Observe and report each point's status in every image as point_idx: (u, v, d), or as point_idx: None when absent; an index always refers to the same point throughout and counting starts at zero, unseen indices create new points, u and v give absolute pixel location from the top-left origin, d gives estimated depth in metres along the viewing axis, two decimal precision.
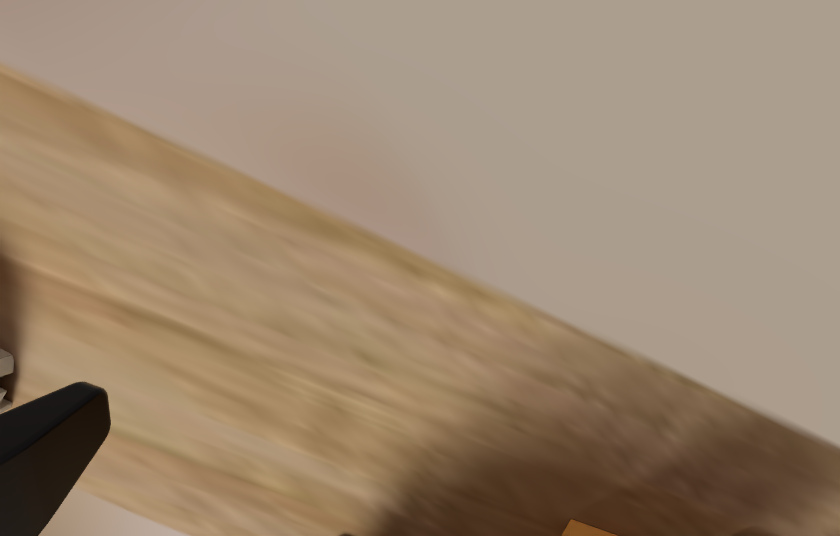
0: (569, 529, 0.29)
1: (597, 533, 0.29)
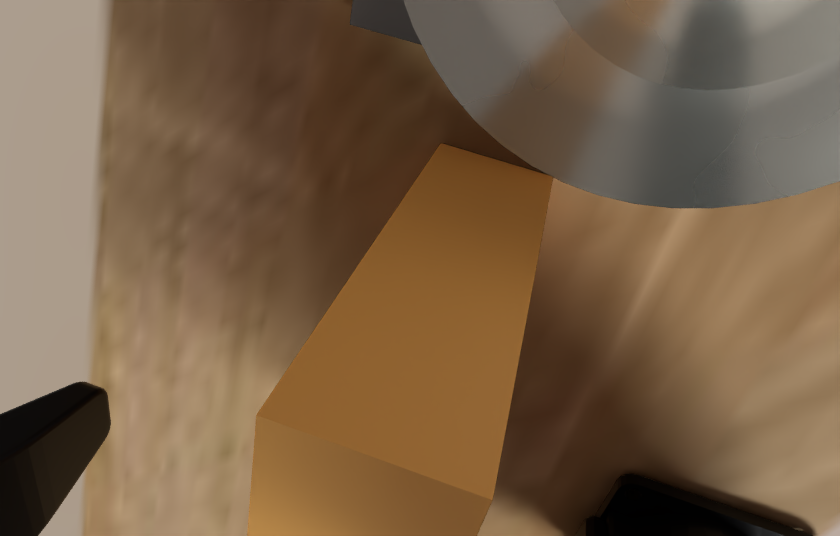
0: None
1: None
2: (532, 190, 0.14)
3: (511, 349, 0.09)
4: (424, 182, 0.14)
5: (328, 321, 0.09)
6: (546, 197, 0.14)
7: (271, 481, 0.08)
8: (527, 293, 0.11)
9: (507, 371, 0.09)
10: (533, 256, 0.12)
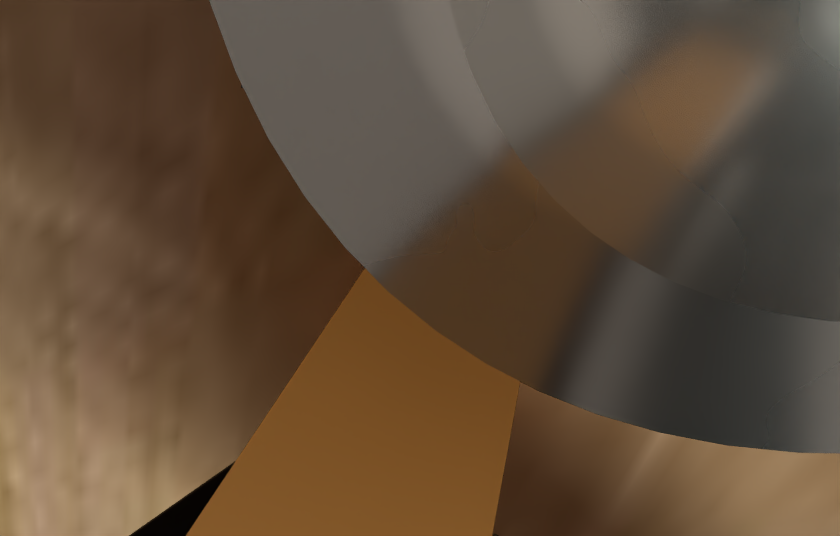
0: None
1: None
2: None
3: None
4: (347, 317, 0.09)
5: None
6: None
7: None
8: None
9: None
10: (497, 461, 0.08)
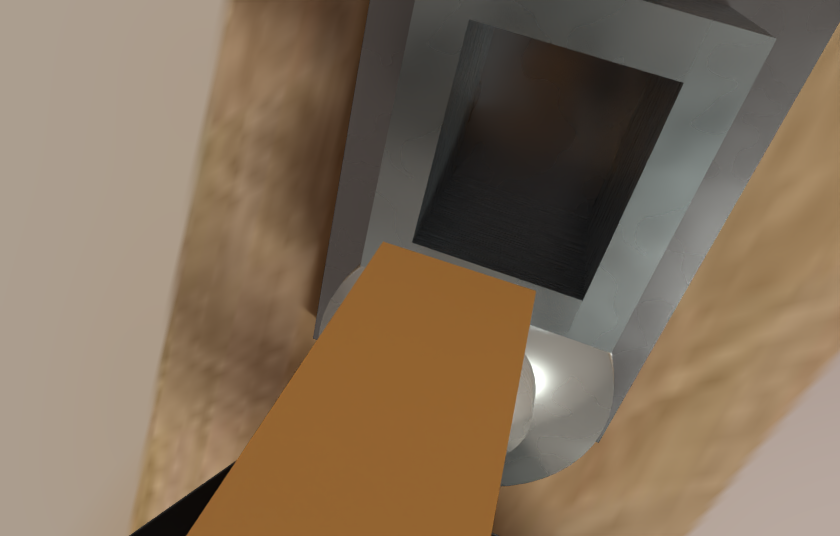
0: None
1: None
2: (504, 320, 0.10)
3: None
4: (345, 319, 0.09)
5: None
6: (524, 332, 0.10)
7: None
8: None
9: None
10: (496, 465, 0.08)
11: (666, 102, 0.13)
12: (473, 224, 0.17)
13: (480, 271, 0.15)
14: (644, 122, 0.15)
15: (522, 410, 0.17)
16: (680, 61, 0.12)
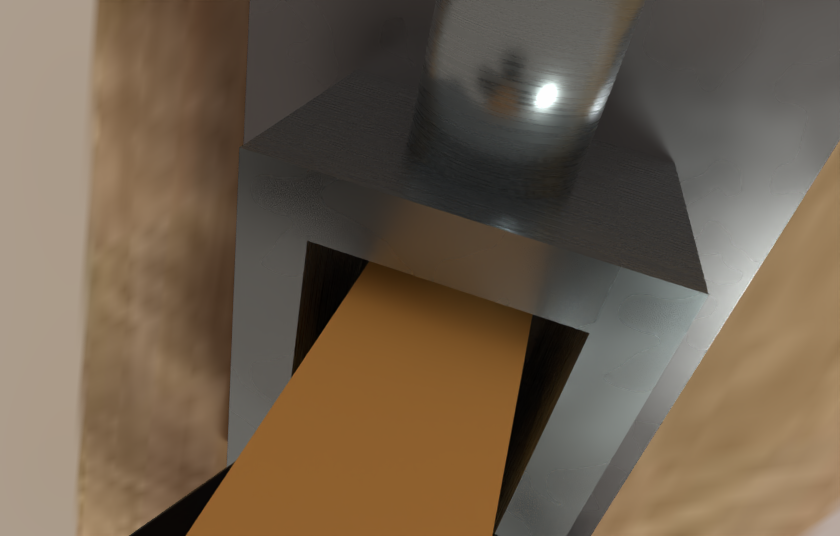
0: None
1: None
2: (505, 319, 0.10)
3: None
4: (346, 318, 0.09)
5: None
6: (525, 331, 0.10)
7: None
8: None
9: None
10: (497, 464, 0.08)
11: (577, 330, 0.10)
12: None
13: None
14: None
15: None
16: (582, 309, 0.09)
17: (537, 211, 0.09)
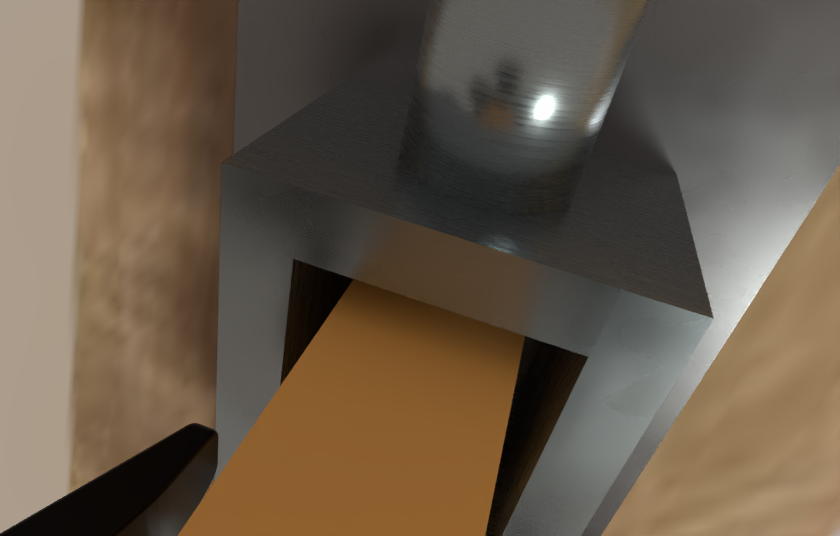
0: None
1: None
2: None
3: (481, 493, 0.07)
4: None
5: (239, 462, 0.07)
6: None
7: None
8: (507, 401, 0.09)
9: (473, 532, 0.07)
10: (517, 343, 0.10)
11: None
12: None
13: None
14: None
15: None
16: (581, 332, 0.08)
17: (533, 228, 0.09)
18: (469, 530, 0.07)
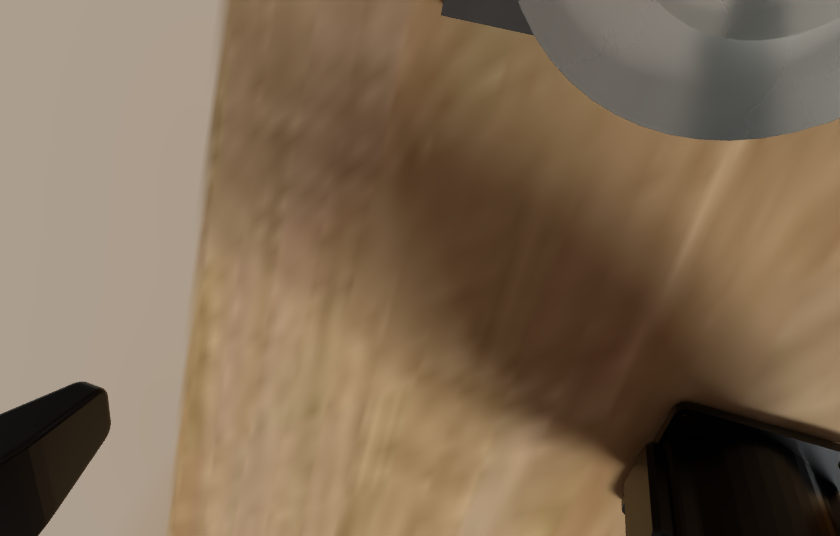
0: None
1: None
2: None
3: None
4: None
5: None
6: None
7: None
8: None
9: None
10: None
11: None
12: None
13: None
14: None
15: None
16: None
17: None
18: None
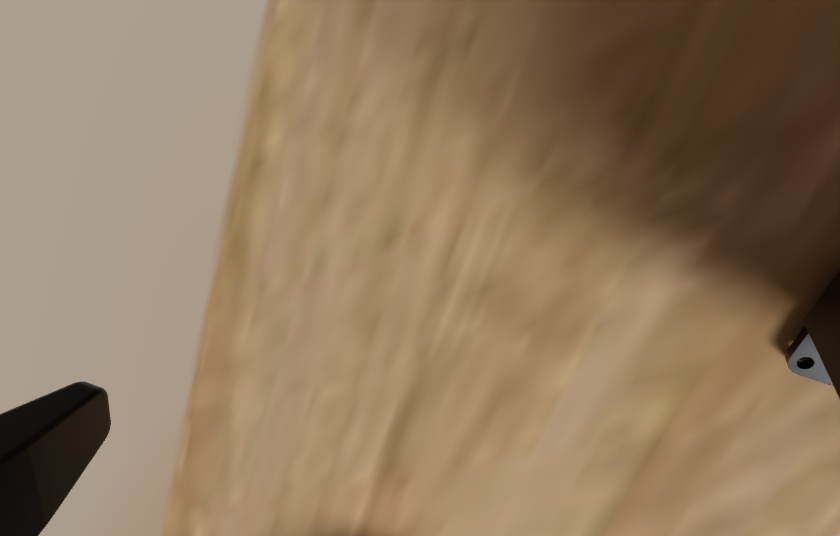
0: None
1: None
2: None
3: None
4: None
5: None
6: None
7: None
8: None
9: None
10: None
11: None
12: None
13: None
14: None
15: None
16: None
17: None
18: None
